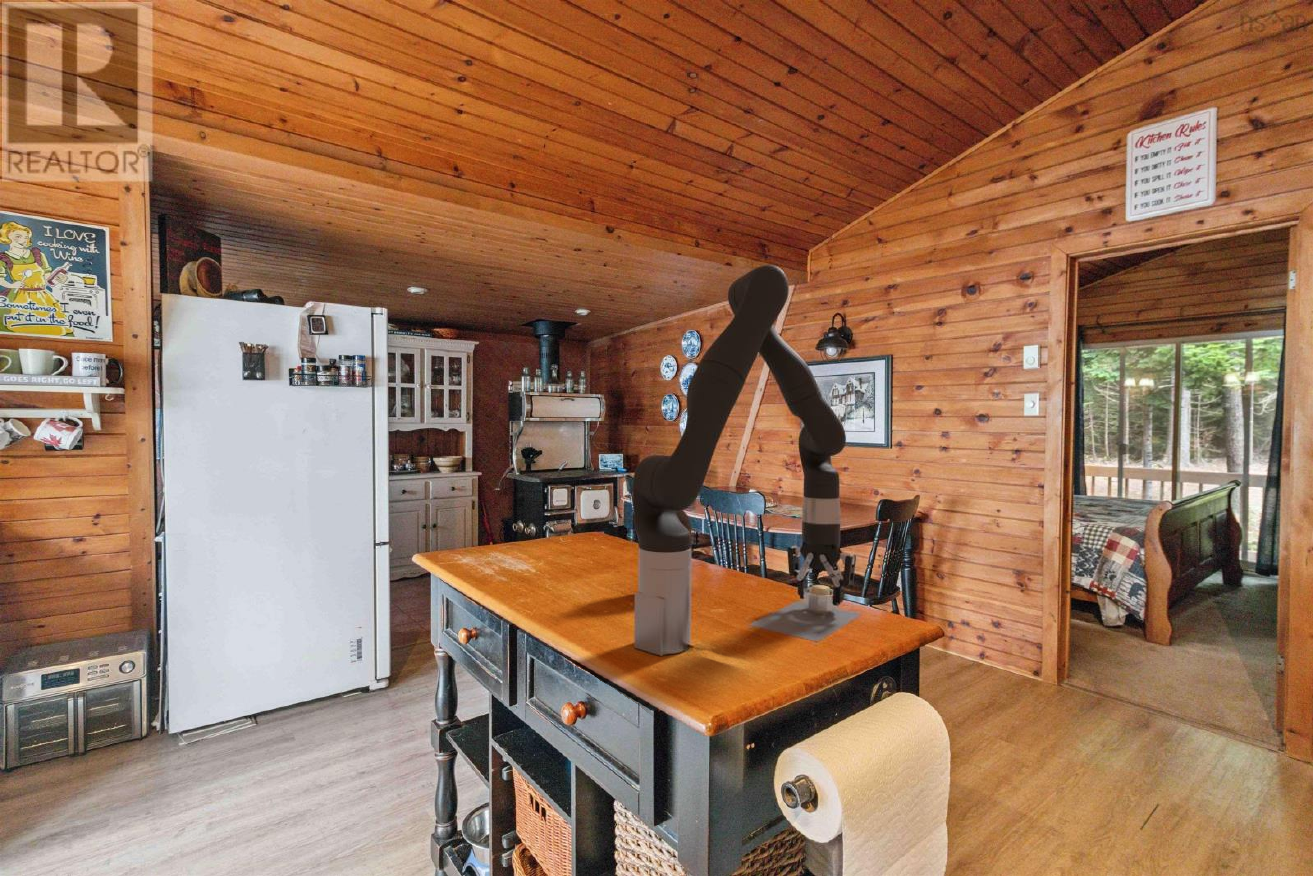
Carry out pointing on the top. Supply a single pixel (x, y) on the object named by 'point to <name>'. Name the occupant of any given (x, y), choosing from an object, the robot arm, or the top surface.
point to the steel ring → (818, 601)
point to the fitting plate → (806, 619)
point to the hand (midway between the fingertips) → (820, 601)
